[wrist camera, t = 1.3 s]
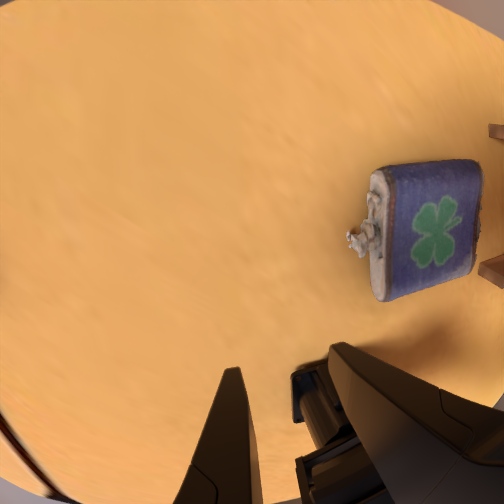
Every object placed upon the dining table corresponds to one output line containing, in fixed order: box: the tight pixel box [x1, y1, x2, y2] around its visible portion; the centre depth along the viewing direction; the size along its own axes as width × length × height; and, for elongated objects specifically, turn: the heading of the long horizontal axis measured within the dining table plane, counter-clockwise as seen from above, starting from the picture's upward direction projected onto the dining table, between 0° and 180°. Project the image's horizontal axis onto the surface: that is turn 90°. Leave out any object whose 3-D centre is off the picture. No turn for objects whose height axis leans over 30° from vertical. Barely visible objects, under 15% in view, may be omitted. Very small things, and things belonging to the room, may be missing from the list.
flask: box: [346, 159, 484, 302], centre depth 19 cm, size 9×3×11 cm
